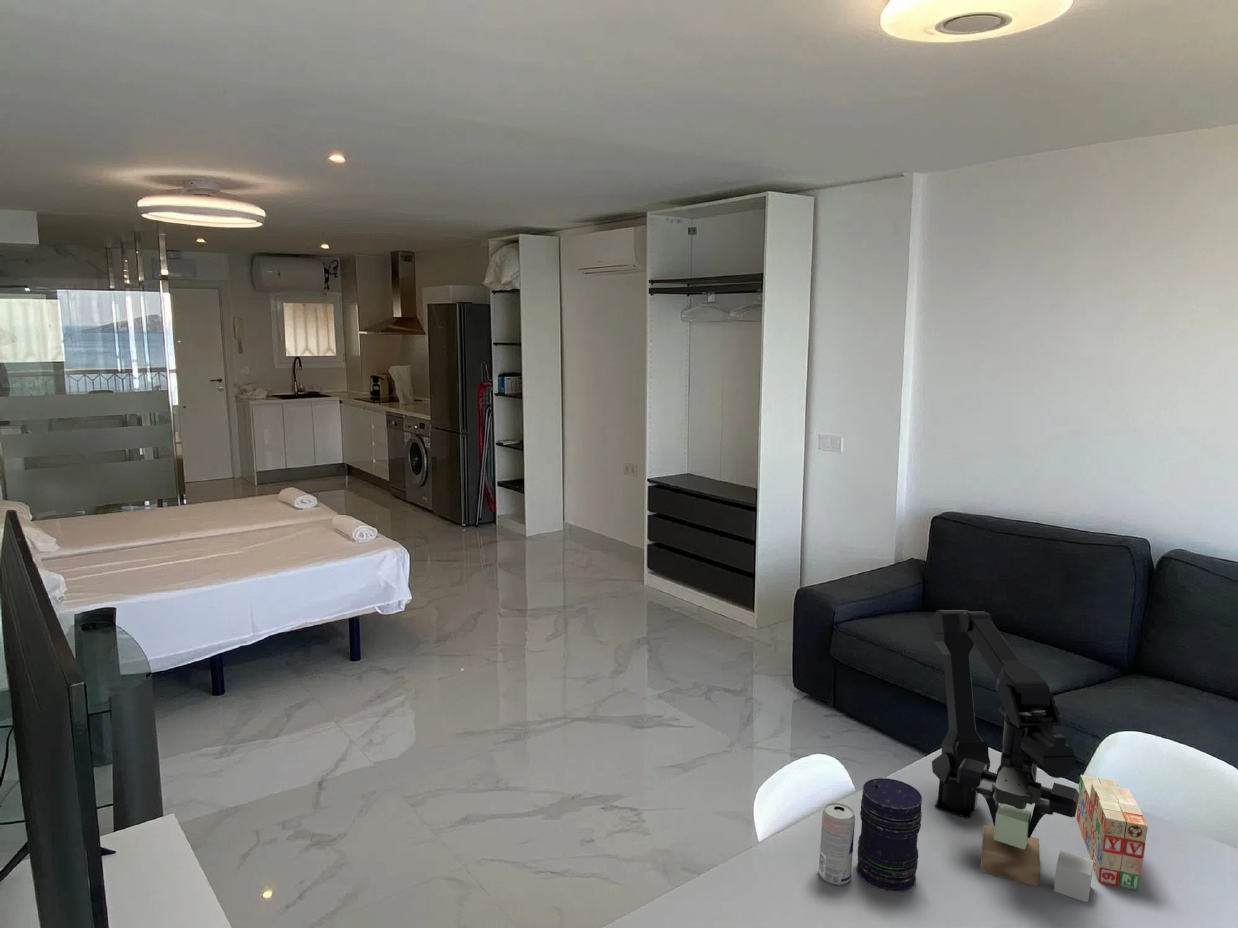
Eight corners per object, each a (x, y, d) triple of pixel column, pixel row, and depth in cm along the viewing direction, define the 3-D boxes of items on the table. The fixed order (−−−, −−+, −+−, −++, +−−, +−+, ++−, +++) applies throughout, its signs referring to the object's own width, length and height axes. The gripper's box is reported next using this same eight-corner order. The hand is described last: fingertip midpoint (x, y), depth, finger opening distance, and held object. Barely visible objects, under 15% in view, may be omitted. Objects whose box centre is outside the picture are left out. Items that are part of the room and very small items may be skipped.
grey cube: (1053, 891, 137) (1056, 863, 136) (1057, 875, 141) (1060, 849, 140) (1087, 902, 134) (1090, 875, 134) (1090, 887, 138) (1093, 860, 138)
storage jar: (925, 873, 141) (932, 793, 139) (901, 900, 134) (908, 815, 132) (871, 848, 147) (877, 771, 145) (845, 873, 140) (851, 792, 138)
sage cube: (993, 839, 143) (996, 812, 142) (998, 826, 147) (1001, 800, 146) (1024, 849, 140) (1027, 822, 139) (1029, 835, 144) (1031, 809, 143)
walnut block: (980, 872, 142) (982, 850, 142) (982, 844, 150) (984, 824, 150) (1037, 887, 138) (1040, 866, 138) (1036, 859, 146) (1038, 838, 146)
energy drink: (851, 870, 141) (856, 805, 139) (849, 888, 136) (854, 822, 134) (820, 863, 143) (824, 799, 141) (817, 881, 138) (821, 815, 136)
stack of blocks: (1075, 818, 160) (1081, 759, 158) (1111, 825, 157) (1118, 765, 156) (1098, 883, 140) (1105, 816, 138) (1140, 892, 137) (1148, 824, 136)
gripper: (953, 749, 140) (945, 833, 142) (1076, 784, 129) (1066, 874, 132) (967, 726, 149) (960, 805, 151) (1083, 756, 139) (1074, 841, 141)
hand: (1012, 831), depth 143 cm, fingers closed on sage cube, 5 cm apart
